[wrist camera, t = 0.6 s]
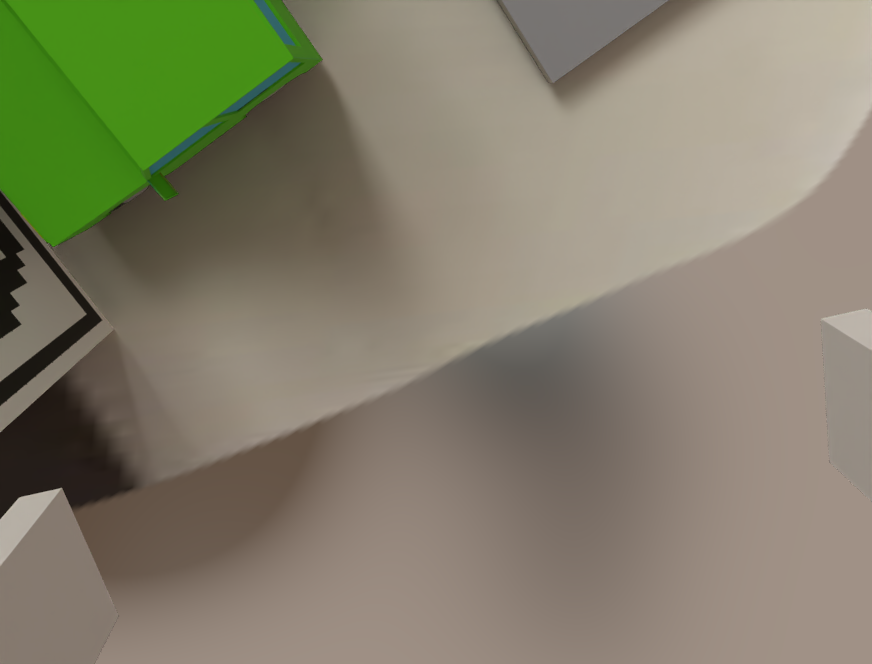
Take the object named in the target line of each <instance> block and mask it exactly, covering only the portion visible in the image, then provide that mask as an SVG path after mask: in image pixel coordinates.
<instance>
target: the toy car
mask: <svg viewBox="0 0 872 664" xmlns="http://www.w3.org/2000/svg"><path fill="white" fill-rule="evenodd" d="M320 61H322V58H321V57H320V55H319V54H318V52H317V51H316V49H315V48H314V47H313V45H312V44H311V42H310V41H309V39H308V38H307V36H306V35H305V34H304V32H303V31H302V29H301V28H300V26H299V25H298V24H297V22H296V21H295V19H294V18H293V16H292V15H291V13H290V12H289V11H288V9H287V8H286V6H285V5H284V3H283V2H282V0H0V190H1V191H2V192H3V193H4V194H5V195H6V196H7V198H8V199H9V200H10V201H11V202H12V203H13V204H14V206H15V207H16V208H17V209H18V210H19V211H20V212H21V213H20V214H21V215H22V216H23V217H24V218H25V220H26V221H27V222H28V223H29V224H30V225H31V226H32V227H33V229H34V230H35V231H36V232H37V233H38V234H39V235H40V237H41V238H42V239H44V240H45V241H46V242H47V243H50V244H51V245H52V247H55V246H57V245H59V244H60V243H62V242H64V241H66V240H68V239H70V238H72V237H74V236H76V235H78V234H80V233H82V232H83V231H85V230H87V229H89V228H90V227H92V226H93V225H95V224H96V223H98V222H99V221H100V220H102V219H103V218H105V217H106V216H108V215H109V214H111V212H112V211H114V210H115V209H117V208H119V207H120V206H122V205H123V204H125V203H127V202H129V201H131V200H132V199H134V198H135V197H137V196H138V195H140V194H141V193H142V192H144V191H145V190H146V189H147V188H148V187H149V186H150V185H151V186H152V187H153V188H154V189H155V191H156V192H157V193H158V194H159V195H160V196H161V198H162V199H163V200H164V201H166V200H168V199H170V198H172V197H174V196H176V195H178V194H179V193H178V192H177V191H176V190H175V189H174V187H173V186H172V185H171V184H170V183H169V182H168V180H167V179H166V178H165V177H164V176H166V175H168V174H169V173H171V172H172V171H174V170H175V169H177V168H178V167H180V166H181V165H182V164H184V163H185V162H186V161H188V160H189V159H190V158H192V157H193V156H194V155H196V154H197V153H198V152H200V151H201V150H202V149H204V148H205V147H206V146H208V145H209V144H210V143H212V142H213V141H214V140H216V139H217V138H218V137H220V136H221V135H223V134H224V133H225V132H227V131H228V130H229V129H231V128H232V127H233V126H235V125H236V124H237V123H239V122H240V121H241V120H243V119H244V118H245V117H247V116H246V114H247V113H248V112H249V111H250V110H251V109H253V108H254V107H255V106H256V105H258V104H259V103H260V102H263V101H265V100H266V99H268V98H269V97H271V96H272V95H274V94H275V93H276V92H278V91H279V90H280V89H281V88H282V87H284V85H285V84H286V83H288V82H289V81H291V80H292V79H294V78H295V77H297V76H298V75H300V74H302V73H306V72H307V71H308V70H310V69H311V68H312V67H314V66H315V65H316V64H318V63H319V62H320Z"/></svg>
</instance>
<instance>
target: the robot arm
mask: <svg viewBox="0 0 872 664" xmlns="http://www.w3.org/2000/svg"><path fill="white" fill-rule="evenodd" d="M821 332H822V348H823V365H824V382H825V399H826V416H827V430H828V447H829V462H830V463H831V464H832V465H833V466H834V467H835V468H837V470H838V471H839V472H840V473H841V474H842V475H844V476H845V477H846V478H847V479H848V480H849V481H850V482H851V483H852V484H853V485H854V486H855V487H856V488H857V489H858V490H859V491H860V492H861V493H863V494H864V495H865V496H866V497H867V498H868V499H869V500H870V501H871V502H872V311H870V310H869V309H862V310H857V311H853V312H849V313H844V314H840V315H835V316H831V317H826V318H822V319H821ZM118 617H119V615H118V612H117V610H116V608H115V606H114V604H113V601H112V599H111V597H110V595H109V593H108V590H107V588H106V586H105V583H104V581H103V579H102V577H101V574H100V572H99V570H98V568H97V565H96V563H95V561H94V559H93V556H92V554H91V552H90V550H89V547H88V545H87V543H86V541H85V539H84V536H83V534H82V532H81V529H80V527H79V525H78V523H77V520H76V518H75V516H74V514H73V511H72V509H71V507H70V505H69V502H68V500H67V498H66V496H65V493H64V491H63V489H62V488H59V489H55V490H50V491H46V492H41V493H37V494H32V495H28V496H23V497H19V498H18V499H17V501H16V502H15V503H14V504H13V505H12V506H11V508H10V509H9V510H8V511H7V512H6V513H5V514H4V516H3V517H2V518H1V519H0V664H95V662H96V660H97V658H98V656H99V654H100V652H101V650H102V648H103V646H104V644H105V642H106V640H107V638H108V636H109V634H110V632H111V630H112V628H113V627H114V625H115V623H116V621H117V619H118Z"/></svg>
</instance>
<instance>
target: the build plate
mask: <svg viewBox="0 0 872 664" xmlns="http://www.w3.org/2000/svg"><path fill="white" fill-rule="evenodd" d="M497 1H498V2H499V4H500V6H501V7H502V9H503V10H504V12H505V14H506V15H507V17H508V18H509V20H510V22H511V23H512V25H513V27H514V28H515V30H516V31H517V33H518V35H519V36H520V38H521V39H522V41H523V43H524V44H525V46H526V47H527V49H528V51H529V52H530V54H531V56H532V57H533V59H534V60H535V62H536V64H537V65H538V67H539V68H540V70H541V72H542V73H543V75H544V76H545V78H546V80H547V81H548V83H554V82H556V81H557V80H558V79H560V78H561V77H562V76H564V75H565V74H567V73H568V72H569V71H571V70H572V69H574V68H575V67H576V66H578V65H579V64H581V63H582V62H583V61H585V60H586V59H588V58H589V57H590V56H592V55H593V54H595V53H596V52H597V51H599V50H600V49H602V48H603V47H604V46H606V45H607V44H609V43H610V42H611V41H613V40H614V39H616V38H617V37H618V36H620V35H621V34H622V33H624V32H625V31H627V30H628V29H629V28H631V27H632V26H634V25H635V24H636V23H638V22H639V21H641V20H642V19H643V18H645V17H646V16H648V15H649V14H650V13H652V12H653V11H655V10H656V9H657V8H659V7H660V6H662V5H663V4H664V3H666V2H667V1H669V0H497Z"/></svg>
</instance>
